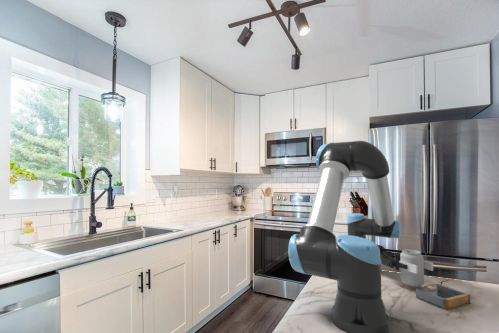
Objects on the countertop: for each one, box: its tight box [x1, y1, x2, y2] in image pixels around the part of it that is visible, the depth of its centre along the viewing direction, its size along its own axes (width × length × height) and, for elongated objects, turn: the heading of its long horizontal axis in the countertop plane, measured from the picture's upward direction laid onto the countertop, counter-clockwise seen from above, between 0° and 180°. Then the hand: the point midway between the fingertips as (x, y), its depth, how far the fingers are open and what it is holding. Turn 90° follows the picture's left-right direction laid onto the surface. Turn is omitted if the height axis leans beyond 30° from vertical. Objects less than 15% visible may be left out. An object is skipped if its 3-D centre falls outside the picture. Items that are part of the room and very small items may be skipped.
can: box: [400, 248, 425, 288], centre depth 100 cm, size 8×8×12 cm
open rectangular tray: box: [415, 283, 472, 311], centre depth 90 cm, size 12×10×3 cm
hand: (424, 268), depth 96 cm, fingers closed on can, 7 cm apart
